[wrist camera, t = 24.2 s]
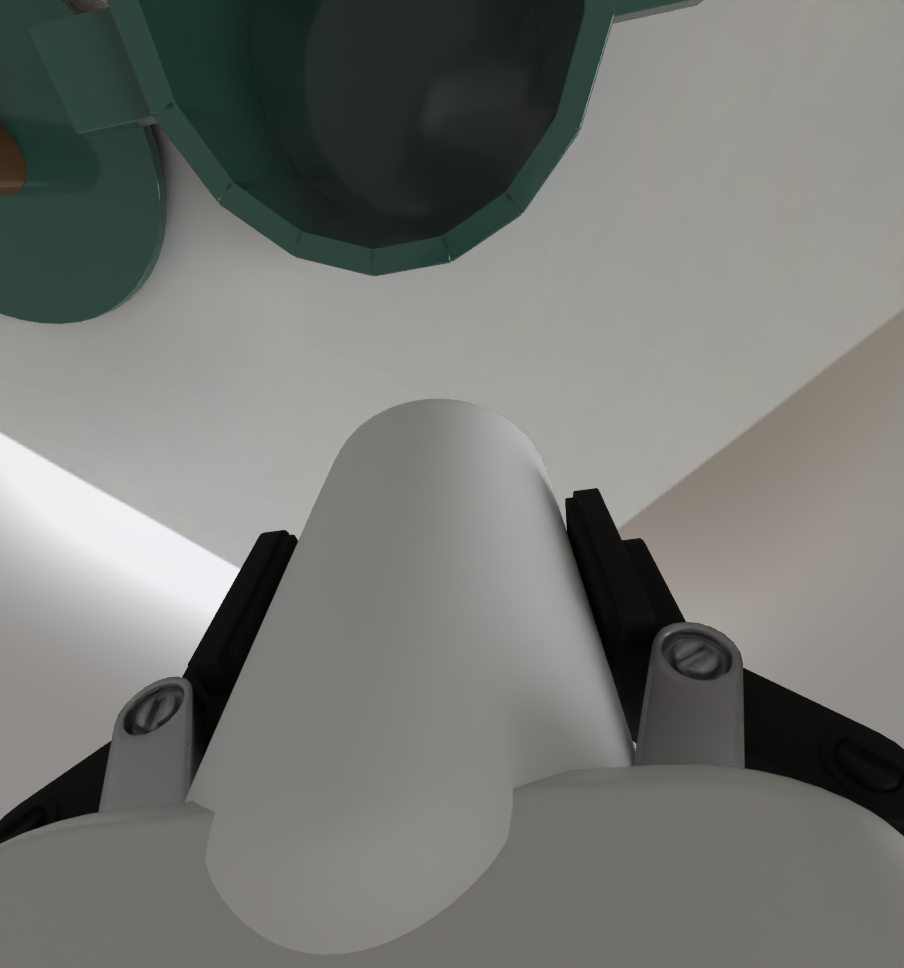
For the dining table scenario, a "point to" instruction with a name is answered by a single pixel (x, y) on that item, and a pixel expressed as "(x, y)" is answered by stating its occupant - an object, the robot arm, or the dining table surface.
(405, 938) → the robot arm
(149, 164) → the pot lid
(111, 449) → the dining table surface
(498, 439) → the can
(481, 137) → the pot
